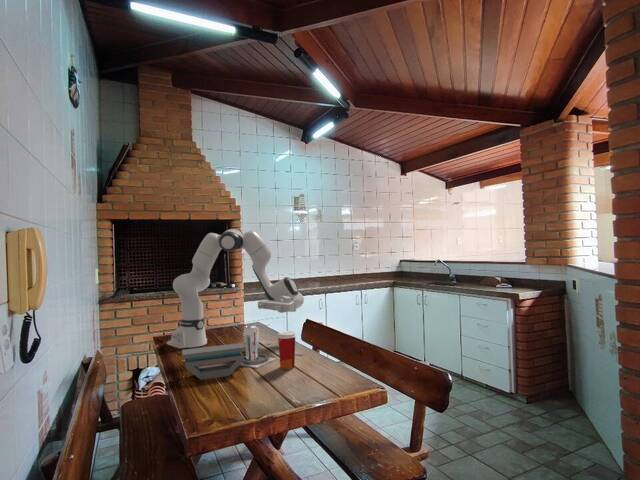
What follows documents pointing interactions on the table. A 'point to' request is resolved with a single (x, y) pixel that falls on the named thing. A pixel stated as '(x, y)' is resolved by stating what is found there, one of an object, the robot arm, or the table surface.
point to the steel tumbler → (251, 342)
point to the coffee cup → (286, 349)
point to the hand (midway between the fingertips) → (266, 307)
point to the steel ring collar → (256, 361)
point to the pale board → (259, 364)
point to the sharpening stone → (213, 360)
